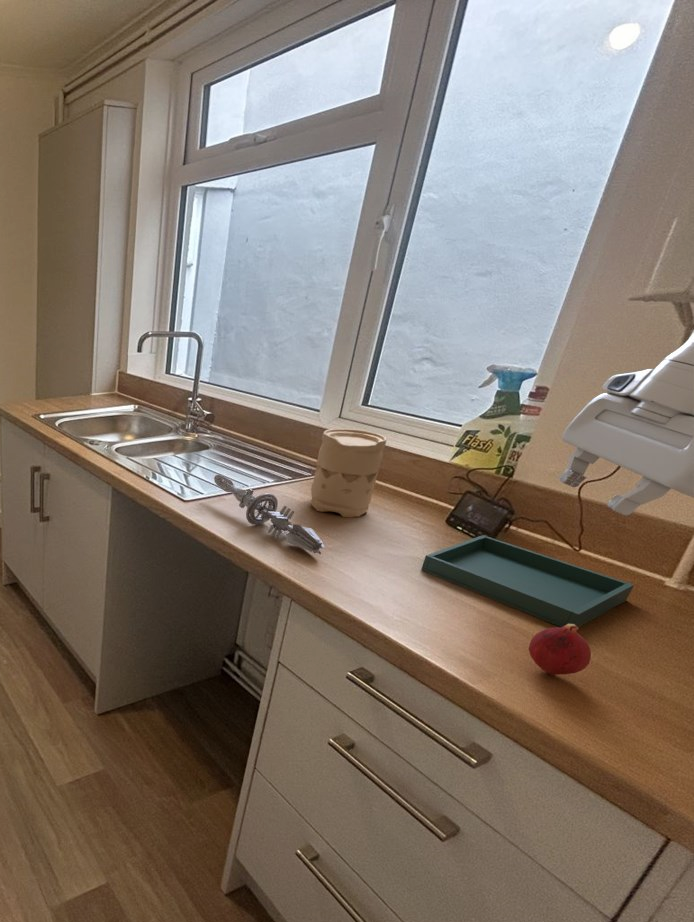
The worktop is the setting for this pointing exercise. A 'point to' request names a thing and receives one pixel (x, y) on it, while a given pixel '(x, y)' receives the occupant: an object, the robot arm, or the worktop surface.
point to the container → (346, 471)
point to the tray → (528, 580)
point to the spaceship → (272, 516)
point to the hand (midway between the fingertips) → (589, 496)
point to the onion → (560, 650)
